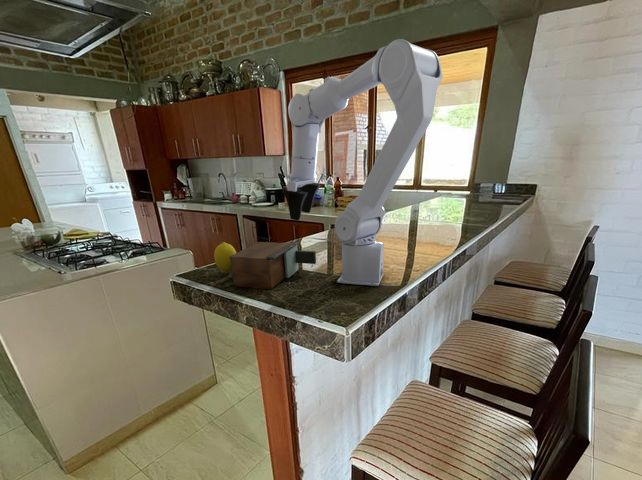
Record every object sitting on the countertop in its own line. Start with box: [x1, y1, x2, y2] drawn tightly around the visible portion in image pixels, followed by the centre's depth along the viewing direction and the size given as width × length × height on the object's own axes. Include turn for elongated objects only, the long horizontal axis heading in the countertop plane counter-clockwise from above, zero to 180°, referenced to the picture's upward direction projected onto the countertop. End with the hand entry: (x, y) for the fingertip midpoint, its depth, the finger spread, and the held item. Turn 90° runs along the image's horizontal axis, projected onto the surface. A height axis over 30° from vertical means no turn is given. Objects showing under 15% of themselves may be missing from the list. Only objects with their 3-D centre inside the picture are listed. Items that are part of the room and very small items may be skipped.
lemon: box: [213, 241, 237, 274], centre depth 84 cm, size 6×6×8 cm
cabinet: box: [230, 241, 300, 290], centre depth 79 cm, size 11×14×7 cm
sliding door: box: [284, 244, 317, 279], centre depth 81 cm, size 6×7×6 cm
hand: (300, 215), depth 85 cm, fingers open, 7 cm apart
